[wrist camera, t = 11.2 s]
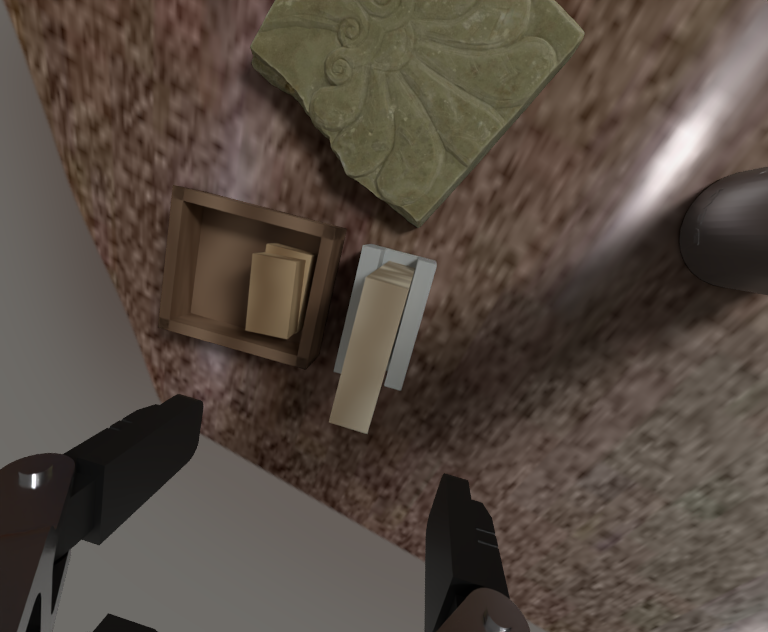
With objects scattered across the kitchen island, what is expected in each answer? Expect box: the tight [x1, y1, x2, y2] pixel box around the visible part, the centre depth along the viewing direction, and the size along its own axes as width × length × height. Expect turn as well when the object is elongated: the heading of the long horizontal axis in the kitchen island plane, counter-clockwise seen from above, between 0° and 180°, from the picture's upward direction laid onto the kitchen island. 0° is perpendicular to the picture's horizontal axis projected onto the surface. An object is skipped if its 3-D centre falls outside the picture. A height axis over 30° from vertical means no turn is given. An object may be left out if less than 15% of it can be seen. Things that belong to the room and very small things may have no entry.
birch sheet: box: [329, 261, 415, 434], centre depth 27 cm, size 2×9×13 cm, turn 165°
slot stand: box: [334, 244, 437, 391], centre depth 32 cm, size 6×11×4 cm, turn 166°
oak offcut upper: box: [245, 252, 306, 339], centre depth 31 cm, size 4×6×2 cm, turn 170°
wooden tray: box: [158, 185, 347, 369], centre depth 33 cm, size 14×12×4 cm
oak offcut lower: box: [265, 243, 318, 333], centre depth 33 cm, size 4×7×2 cm, turn 166°
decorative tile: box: [250, 0, 584, 228], centre depth 29 cm, size 19×20×4 cm
